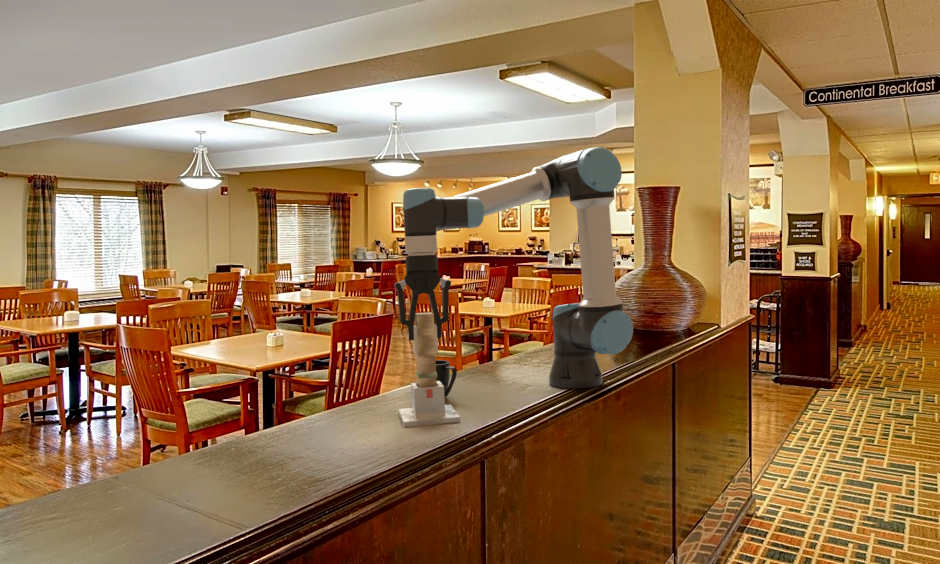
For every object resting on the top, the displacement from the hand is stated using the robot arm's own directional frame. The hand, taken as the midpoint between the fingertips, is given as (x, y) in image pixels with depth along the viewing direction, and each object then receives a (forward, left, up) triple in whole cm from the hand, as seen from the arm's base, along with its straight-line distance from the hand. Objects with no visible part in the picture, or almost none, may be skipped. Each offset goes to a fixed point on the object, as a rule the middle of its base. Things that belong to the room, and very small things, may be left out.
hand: (425, 352), depth 160 cm
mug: (-6, -20, -16) cm, 26 cm away
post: (0, 0, -10) cm, 10 cm away
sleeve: (0, 0, -16) cm, 16 cm away
